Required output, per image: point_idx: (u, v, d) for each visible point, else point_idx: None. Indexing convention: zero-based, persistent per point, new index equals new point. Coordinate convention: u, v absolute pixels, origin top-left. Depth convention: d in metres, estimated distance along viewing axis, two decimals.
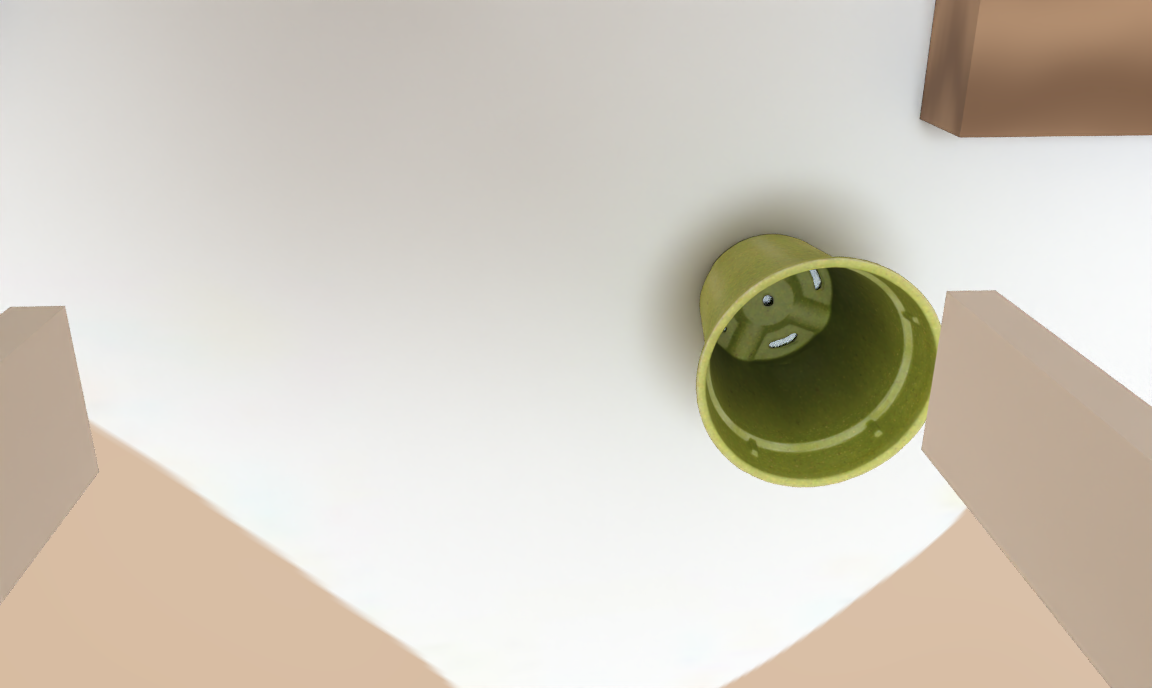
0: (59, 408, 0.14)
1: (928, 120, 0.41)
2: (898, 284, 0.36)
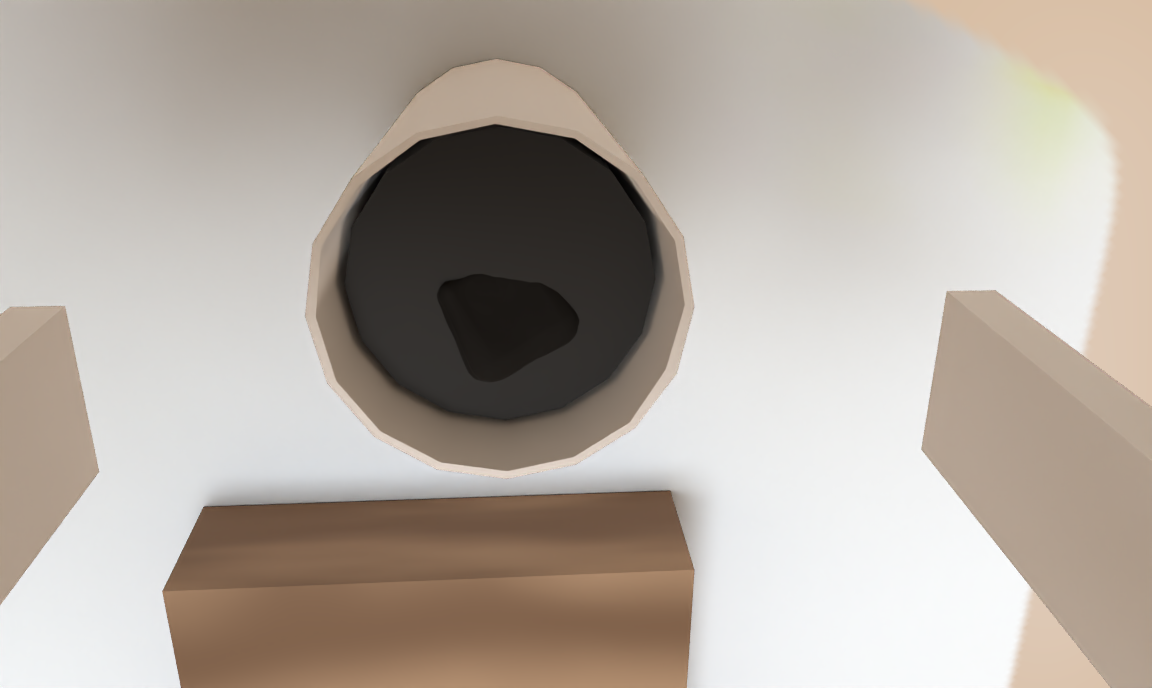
0: (59, 408, 0.14)
1: None
2: None
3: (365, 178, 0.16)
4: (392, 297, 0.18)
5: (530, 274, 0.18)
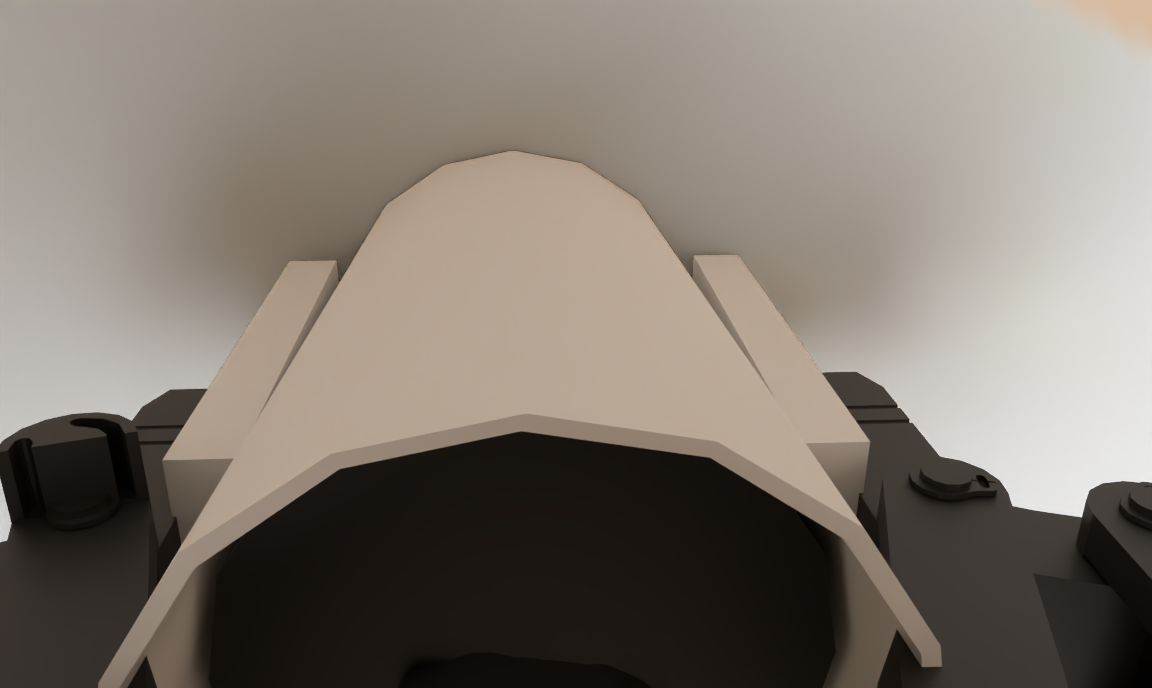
0: None
1: None
2: None
3: (211, 553, 0.07)
4: None
5: (586, 650, 0.09)
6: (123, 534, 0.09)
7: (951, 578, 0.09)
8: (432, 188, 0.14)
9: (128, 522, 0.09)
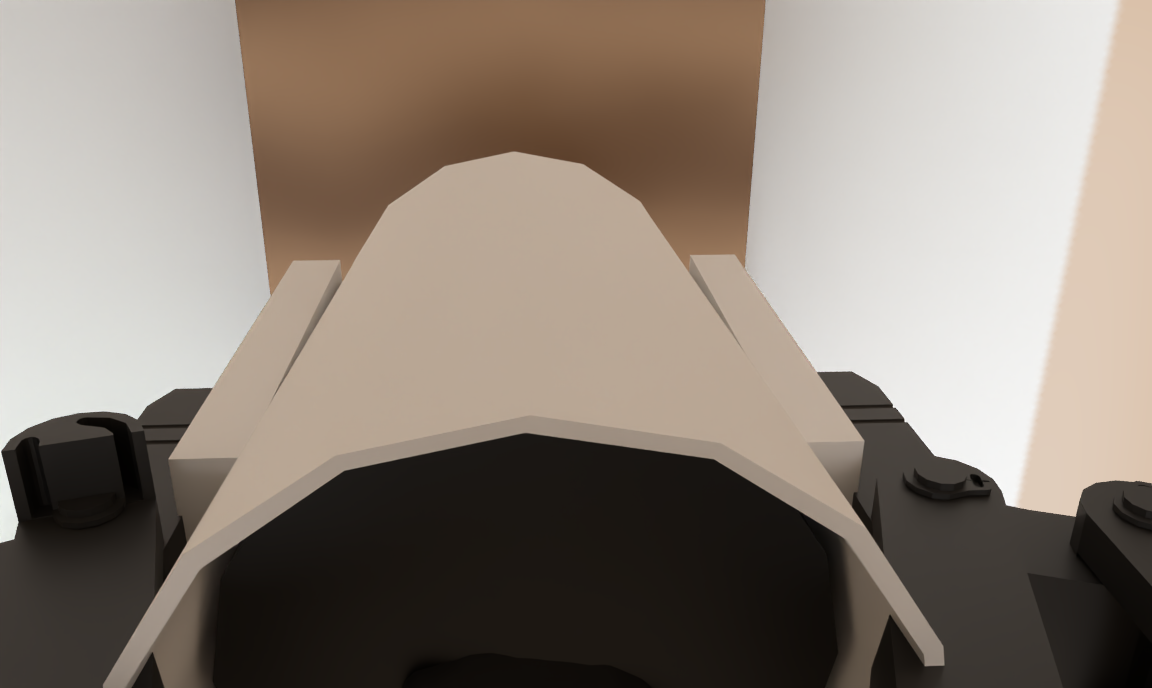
0: None
1: None
2: None
3: (216, 554, 0.07)
4: None
5: (589, 651, 0.09)
6: (129, 533, 0.09)
7: (945, 577, 0.09)
8: (434, 189, 0.14)
9: (134, 521, 0.09)
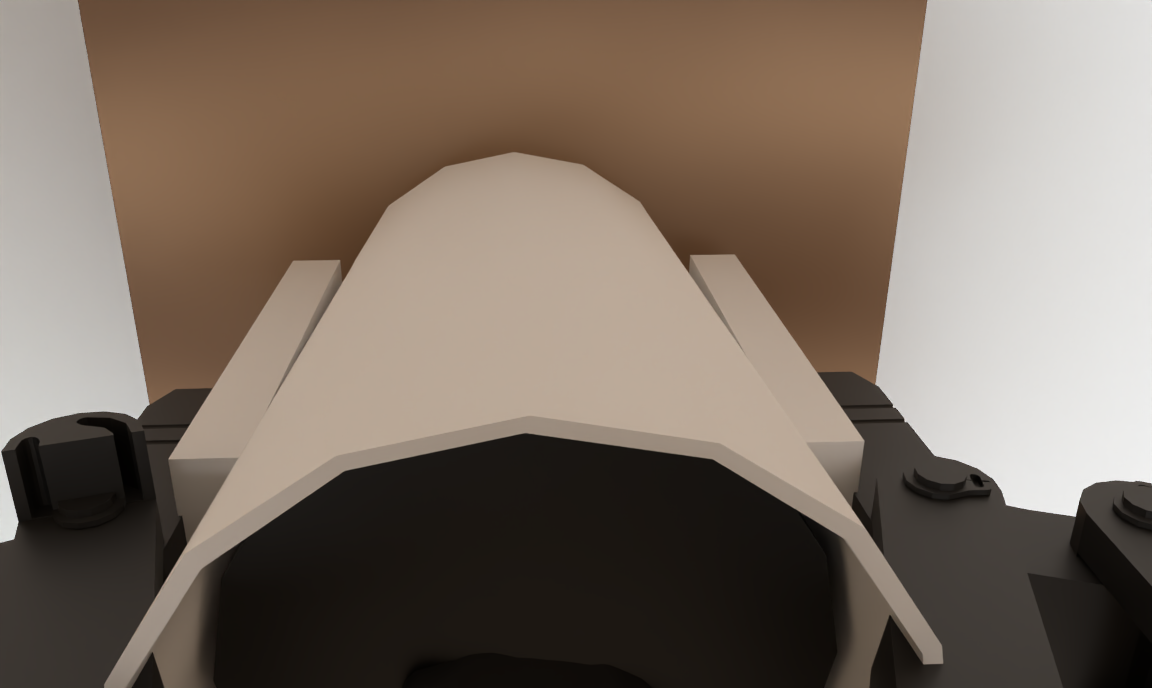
0: None
1: None
2: None
3: (217, 554, 0.07)
4: None
5: (589, 650, 0.09)
6: (129, 533, 0.09)
7: (945, 577, 0.09)
8: (434, 190, 0.14)
9: (134, 521, 0.09)
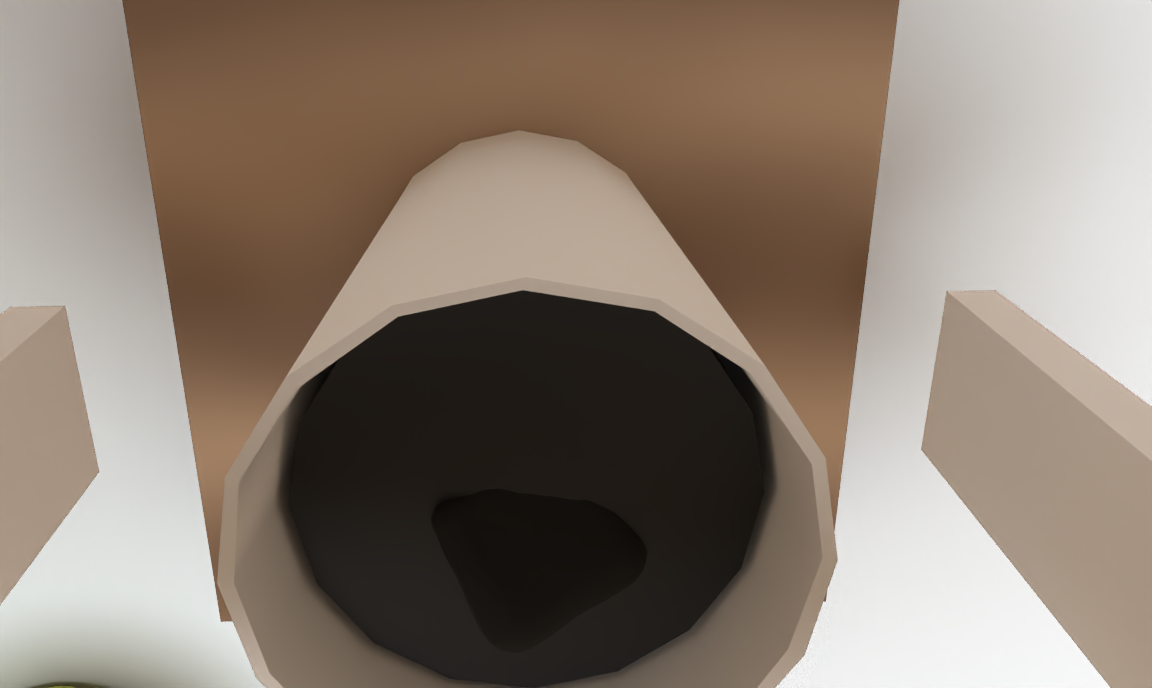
0: (59, 408, 0.14)
1: None
2: None
3: (308, 377, 0.10)
4: (362, 523, 0.12)
5: (573, 488, 0.12)
6: None
7: None
8: (452, 159, 0.17)
9: None
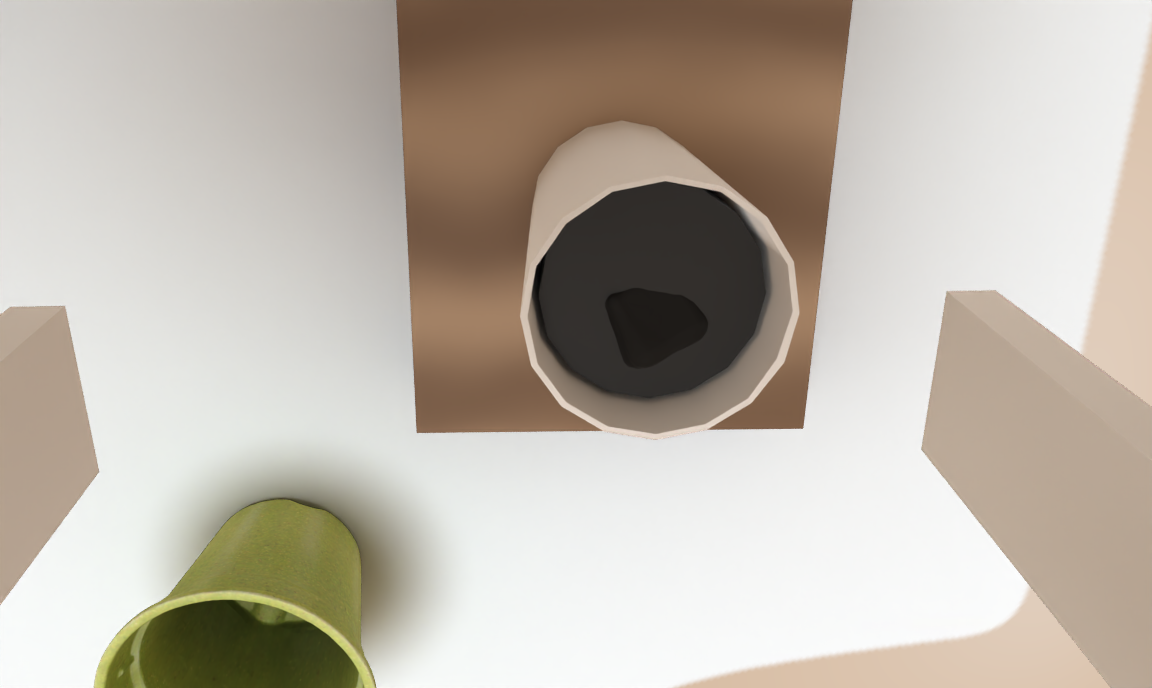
0: (59, 408, 0.14)
1: None
2: (299, 616, 0.33)
3: (571, 218, 0.22)
4: (571, 304, 0.25)
5: (674, 288, 0.25)
6: None
7: None
8: (588, 135, 0.30)
9: None
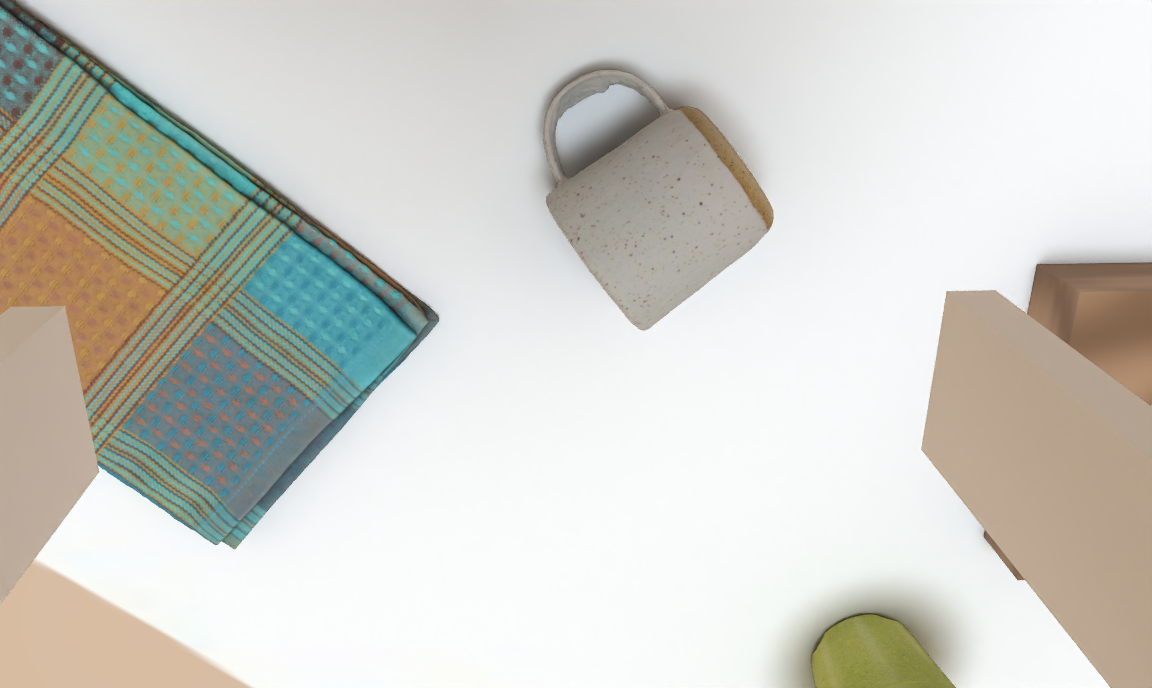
0: (59, 408, 0.14)
1: (991, 544, 0.55)
2: None
3: None
4: None
5: None
6: None
7: None
8: None
9: None
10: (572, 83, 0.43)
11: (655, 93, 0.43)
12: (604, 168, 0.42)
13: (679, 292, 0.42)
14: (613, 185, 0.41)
